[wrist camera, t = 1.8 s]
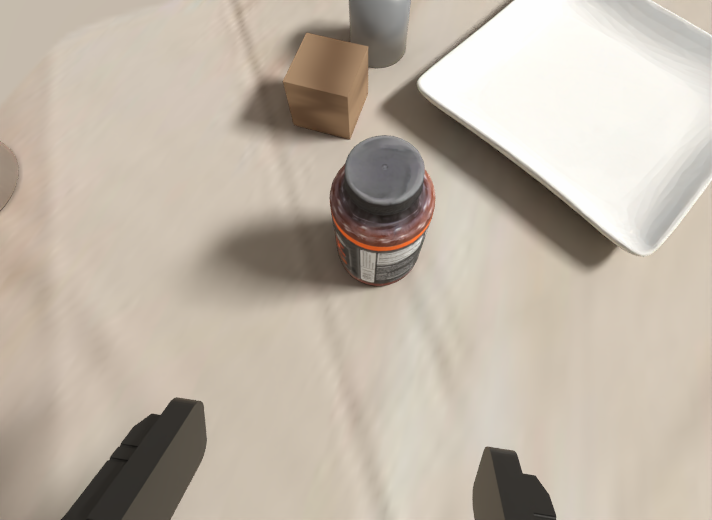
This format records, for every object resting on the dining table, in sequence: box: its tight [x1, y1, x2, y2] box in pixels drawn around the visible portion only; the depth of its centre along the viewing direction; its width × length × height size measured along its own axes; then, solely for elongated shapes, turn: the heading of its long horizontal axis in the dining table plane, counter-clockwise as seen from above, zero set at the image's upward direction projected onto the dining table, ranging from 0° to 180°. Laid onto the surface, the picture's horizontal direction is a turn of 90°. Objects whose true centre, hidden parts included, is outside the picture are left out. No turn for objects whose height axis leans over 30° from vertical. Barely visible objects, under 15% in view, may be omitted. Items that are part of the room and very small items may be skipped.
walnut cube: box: [283, 33, 368, 139], centre depth 33 cm, size 5×5×5 cm
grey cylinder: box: [349, 0, 411, 68], centre depth 35 cm, size 5×5×6 cm
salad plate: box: [417, 0, 712, 257], centre depth 34 cm, size 21×21×3 cm
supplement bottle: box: [330, 135, 435, 286], centre depth 26 cm, size 6×6×11 cm
